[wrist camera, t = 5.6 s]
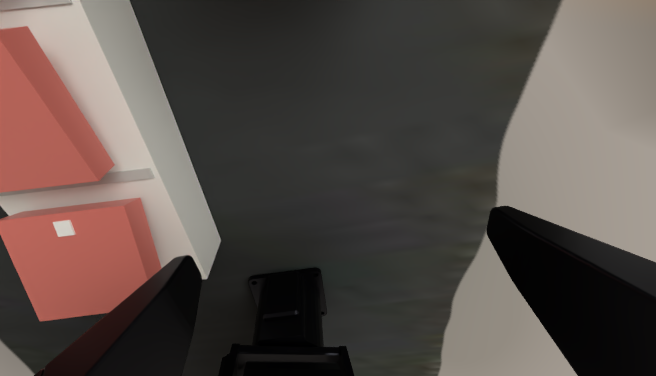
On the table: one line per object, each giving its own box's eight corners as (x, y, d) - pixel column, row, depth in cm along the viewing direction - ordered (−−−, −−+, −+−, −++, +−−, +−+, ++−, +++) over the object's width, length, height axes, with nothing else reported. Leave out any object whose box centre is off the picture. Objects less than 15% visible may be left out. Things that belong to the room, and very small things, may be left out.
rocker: (168, 291, 17) (155, 307, 16) (61, 304, 17) (38, 322, 15) (140, 197, 15) (122, 206, 14) (22, 211, 15) (-8, 221, 14)
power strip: (230, 264, 24) (218, 305, 21) (126, 277, 24) (96, 321, 21) (20, -285, 10) (-129, -446, 7) (-240, -264, 10) (-538, -420, 6)
